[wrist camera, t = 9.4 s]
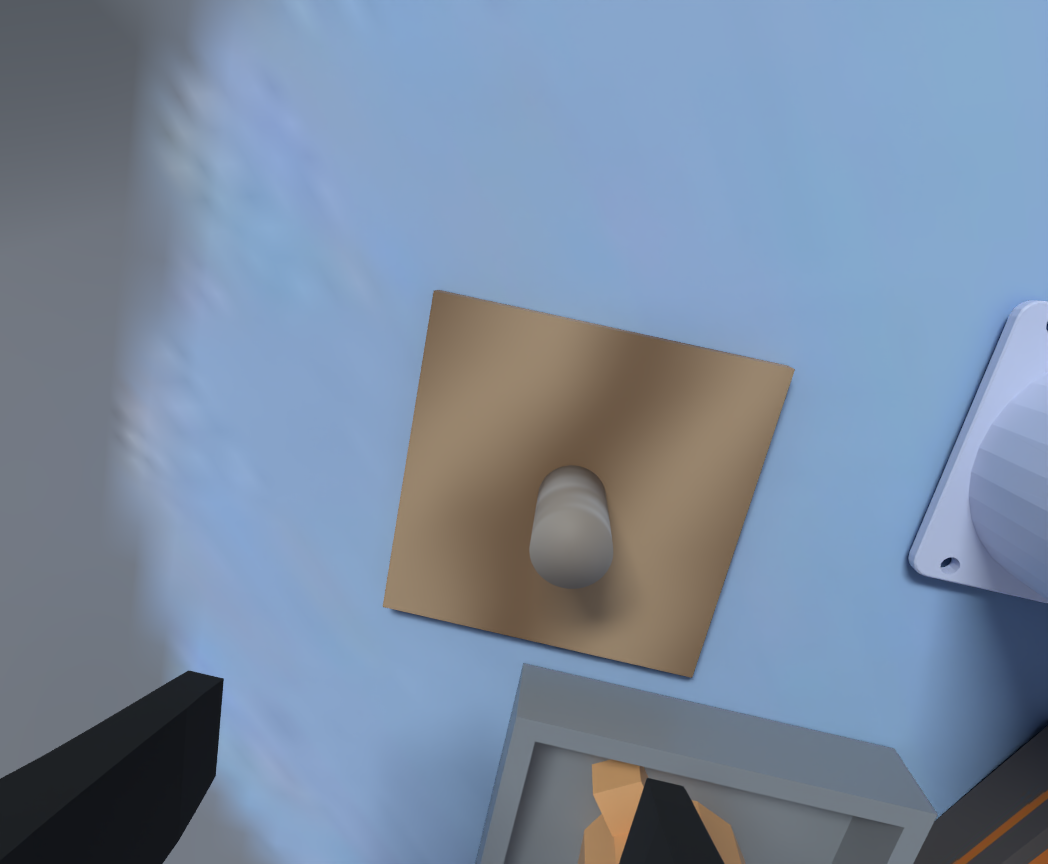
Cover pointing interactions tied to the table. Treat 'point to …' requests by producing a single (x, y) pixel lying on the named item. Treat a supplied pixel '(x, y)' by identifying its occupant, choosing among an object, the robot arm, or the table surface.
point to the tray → (696, 777)
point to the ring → (618, 803)
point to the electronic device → (998, 815)
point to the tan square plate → (577, 481)
